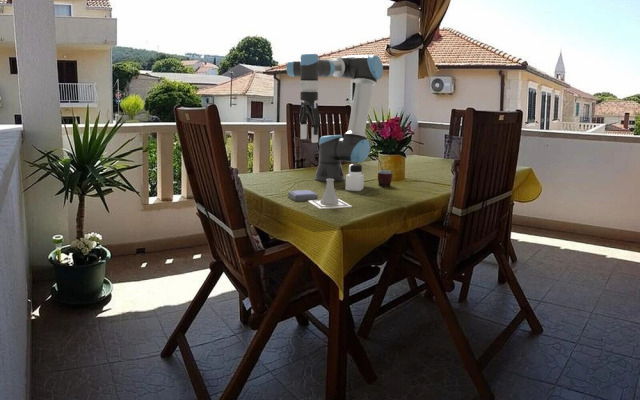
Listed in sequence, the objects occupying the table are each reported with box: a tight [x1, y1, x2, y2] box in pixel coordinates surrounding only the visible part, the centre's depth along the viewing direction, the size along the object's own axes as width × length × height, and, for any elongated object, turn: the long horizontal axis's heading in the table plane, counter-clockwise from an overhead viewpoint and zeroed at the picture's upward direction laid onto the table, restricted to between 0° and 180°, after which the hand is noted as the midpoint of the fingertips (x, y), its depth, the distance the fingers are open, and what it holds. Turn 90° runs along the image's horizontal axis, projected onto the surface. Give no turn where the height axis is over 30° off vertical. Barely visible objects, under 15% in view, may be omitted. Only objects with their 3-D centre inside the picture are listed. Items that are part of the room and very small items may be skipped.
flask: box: [320, 179, 339, 205], centre depth 199 cm, size 7×7×10 cm
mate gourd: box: [375, 156, 393, 188], centre depth 242 cm, size 8×8×15 cm
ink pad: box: [287, 189, 319, 202], centre depth 211 cm, size 10×10×2 cm
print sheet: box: [307, 198, 353, 210], centre depth 200 cm, size 14×14×1 cm
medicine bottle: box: [344, 163, 365, 192], centre depth 232 cm, size 7×7×12 cm
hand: (309, 140), depth 215 cm, fingers open, 13 cm apart
